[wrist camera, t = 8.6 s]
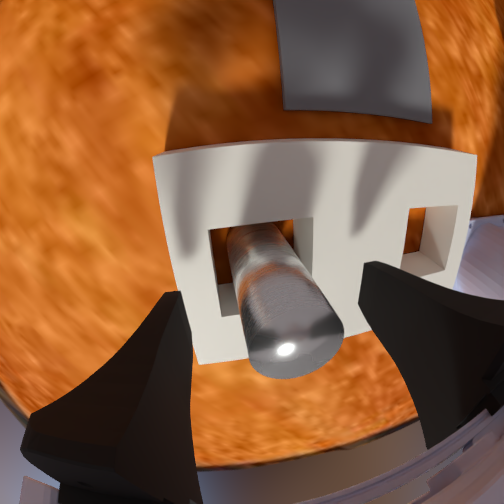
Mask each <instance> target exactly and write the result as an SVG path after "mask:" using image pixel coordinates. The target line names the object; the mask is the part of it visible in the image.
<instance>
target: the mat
mask: <svg viewBox="0 0 504 504" xmlns="http://www.w3.org/2000/svg"><path fill="white" fill-rule="evenodd" d="M273 5H274V13H275V21H276V30H277V39H278V49H279V59H280V70H281V82H282V94H283V108H284V110H312V111H336V112H350V113H362V114H371V115H380V116H388V117H395V118H401V119H407V120H413V121H419V122H424V123H430V124H432V105H431V90H430V80H429V71H428V63H427V56H426V50H425V44H424V39H423V34H422V29H421V24H420V20H419V16H418V12H417V8H416V4H415V1H414V0H273Z"/></svg>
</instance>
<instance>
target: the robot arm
mask: <svg viewBox="0 0 504 504" xmlns="http://www.w3.org/2000/svg"><path fill="white" fill-rule="evenodd" d="M358 305H359V308H360V310H361V312H362V314H363V316H364V317H365V319H366V321H367V323H368V324H369V326H370V327H371V329H372V330H373V332H374V333H375V335H376V336H377V337H378V339H379V340H380V342H381V343H382V344H383V346H384V347H385V349H386V350H387V352H388V353H389V355H390V356H391V357H392V359H393V360H394V362H395V364H396V365H397V367H398V369H399V371H400V373H401V375H402V377H403V379H404V381H405V383H406V385H407V387H408V390H409V392H410V394H411V397H412V399H413V402H414V404H415V407H416V410H417V413H418V416H419V419H420V422H421V426H422V430H423V434H424V438H425V442H426V447H427V449H428V450H427V451H425V452H424V453H422V454H421V455H419V456H417V457H415V458H413V459H412V460H410V461H408V462H406V463H404V464H402V465H400V466H398V467H396V468H394V469H392V470H390V471H388V472H386V473H384V474H381V475H379V476H377V477H374V478H372V479H370V480H367V481H365V482H362V483H360V484H357V485H355V486H352V487H349V488H347V489H344V490H341V491H338V492H335V493H332V494H329V495H325V496H322V497H319V498H315V499H312V500H307V501H303V502H300V503H295V504H365V503H367V502H369V501H372V500H374V499H376V498H379V497H381V496H383V495H385V494H387V493H389V492H391V491H393V490H395V489H397V488H399V487H401V486H403V485H405V484H407V483H409V482H410V481H412V480H414V479H416V478H418V477H419V476H421V475H423V474H424V473H426V472H428V471H429V470H431V469H433V468H434V467H436V466H437V465H439V464H440V463H442V462H443V461H445V460H446V459H448V458H449V457H451V456H452V455H453V454H455V453H456V452H457V451H459V450H460V449H461V448H463V447H464V448H463V454H461V455H460V456H459V457H458V458H456V459H455V460H454V461H453V462H451V463H450V464H449V465H447V466H446V467H445V468H443V469H442V470H441V471H439V472H438V473H436V474H435V475H434V476H432V477H430V478H429V479H428V480H427V484H428V486H429V488H430V491H428V492H427V493H425V494H423V495H422V496H420V497H418V498H417V499H415V500H413V501H411V502H409V503H408V504H504V215H496V216H487V217H479V218H470V221H469V227H468V232H467V236H466V241H465V245H464V250H463V254H462V258H461V262H460V265H459V269H458V273H457V276H456V279H455V283H454V286H453V289H449V288H446V287H443V286H441V285H438V284H435V283H433V282H430V281H428V280H425V279H423V278H420V277H418V276H415V275H413V274H411V273H408V272H406V271H403V270H401V269H399V268H396V267H394V266H391V265H388V264H386V263H383V262H379V261H371V262H366V263H364V265H363V273H362V280H361V286H360V293H359V299H358ZM192 363H193V345H192V331H191V328H190V324H189V321H188V317H187V313H186V309H185V305H184V301H183V297H182V293H181V291H173V292H165V293H164V294H163V295H162V297H161V298H160V299H159V301H158V302H157V303H156V305H155V306H154V308H153V309H152V310H151V312H150V313H149V314H148V316H147V317H146V318H145V320H144V321H143V322H142V324H141V325H140V326H139V328H138V329H137V330H136V331H135V332H134V333H133V335H132V336H131V337H130V338H129V339H128V341H127V342H126V343H125V344H124V345H123V346H122V347H121V348H120V350H119V351H118V352H117V353H116V354H115V355H114V356H113V357H112V358H111V359H110V360H109V361H108V362H106V363H105V364H104V365H103V366H102V367H101V368H100V369H98V370H97V371H96V372H95V373H94V374H92V375H91V376H90V377H89V378H88V379H86V380H85V381H84V382H83V383H81V384H80V385H79V386H77V387H76V388H74V389H73V390H72V391H70V392H69V393H67V394H66V395H64V396H63V397H61V398H59V399H58V400H56V401H54V402H52V403H51V404H49V405H47V406H45V407H43V408H41V409H40V410H38V411H36V412H34V413H32V414H31V415H30V418H29V421H28V424H27V427H26V430H25V434H24V437H23V440H22V444H21V447H20V450H21V453H22V454H23V456H24V457H25V458H26V459H27V460H28V461H29V462H30V463H31V464H33V465H34V466H36V467H37V468H38V469H40V470H41V471H43V472H44V473H46V474H47V475H49V476H50V477H52V478H54V479H55V480H57V481H59V482H60V488H59V490H58V489H56V488H54V487H52V486H49V485H47V484H44V483H42V482H39V481H37V480H34V479H32V478H29V477H27V476H24V478H23V483H22V489H21V496H20V503H19V504H203V501H202V496H201V492H200V486H199V481H198V475H197V469H196V463H195V456H194V448H193V440H192V430H191V418H190V397H191V379H192Z"/></svg>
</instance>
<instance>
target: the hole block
mask: <svg viewBox="0 0 504 504" xmlns="http://www.w3.org/2000/svg"><path fill="white" fill-rule="evenodd" d="M153 164H154V171H155V178H156V184H157V191H158V197H159V202H160V208H161V214H162V219H163V224H164V229H165V235H166V239H167V244H168V249H169V254H170V258H171V263H172V267H173V271H174V276H175V280H176V284H177V288H178V291H181V293H182V297H183V301H184V305H185V309H186V313H187V317H188V321H189V324H190V328H191V331H192V343H193V347H194V350H195V353H196V356H197V360H198V363H199V365H201V364H209V363H217V362H225V361H232V360H239V359H246V358H249V356H248V351H247V346H246V342H245V337H244V332H243V327H242V323H241V318H240V313H239V308H238V303H237V298H236V293H235V288H234V283H228V284H221V285H218V281H217V275H216V269H215V262H214V255H213V249H212V242H211V235H210V229H217V228H225V227H232V226H240V225H248V224H256V223H265V222H273V221H282V220H290V219H293V234H294V252H295V253H296V255H297V256H298V258H299V259H300V261H301V262H302V263H303V265H304V266H305V268H306V269H307V271H308V272H309V274H310V275H311V276H312V278H313V279H314V281H315V282H316V284H317V285H318V287H319V288H320V290H321V291H322V293H323V294H324V296H325V297H326V298H327V300H328V301H329V303H330V304H331V306H332V307H333V309H334V310H335V312H336V313H337V315H338V316H339V318H340V320H341V321H342V323H343V326H344V338H345V337H349V336H353V335H356V334H360V333H363V332H367V331H370V330H372V329H371V327H370V326H369V324H368V323H367V321H366V319H365V317H364V316H363V314H362V312H361V310H360V308H359V305H358V299H359V293H360V286H361V280H362V273H363V265H364V263H366V262H371V261H379V262H383V263H386V264H388V265H391V266H394V267H396V268H399V269H401V270H403V271H406V272H408V273H411V274H413V275H415V276H418V277H420V278H423V279H425V280H428V281H430V282H433V283H435V284H438V285H441V286H443V287H446V288H449V289H453V286H454V283H455V279H456V276H457V273H458V269H459V265H460V262H461V258H462V254H463V250H464V245H465V241H466V236H467V232H468V227H469V221H470V216H471V210H472V203H473V196H474V187H475V178H476V165H477V155H474V154H470V153H466V152H462V151H458V150H454V149H449V148H444V147H438V146H431V145H423V144H415V143H406V142H396V141H383V140H368V139H343V138H298V139H273V140H256V141H244V142H233V143H223V144H214V145H206V146H198V147H191V148H184V149H178V150H171V151H166V152H162V153H160V154H158V155H156V156H154V157H153ZM419 207H426V213H425V220H424V227H423V233H422V239H421V244H420V250H419V251H418V252H413V253H408V254H403V249H404V243H405V237H406V230H407V223H408V214H409V208H419Z"/></svg>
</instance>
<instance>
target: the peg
mask: <svg viewBox="0 0 504 504" xmlns="http://www.w3.org/2000/svg"><path fill="white" fill-rule="evenodd" d="M226 246H227V252H228V257H229V262H230V267H231V273H232V278H233V283H234V288H235V293H236V298H237V303H238V308H239V313H240V318H241V323H242V327H243V332H244V337H245V342H246V346H247V351H248V356H249V360H250V363H251V365H252V366H253V368H254V369H255V370H256V371H257V372H259V373H260V374H262V375H264V376H267V377H270V378H276V379H290V378H296V377H300V376H303V375H306V374H309V373H311V372H313V371H315V370H317V369H319V368H320V367H322V366H323V365H324V364H326V363H327V362H328V361H329V360H330V359H331V358H332V357H333V356H334V355H335V354H336V353H337V351H338V350H339V348H340V346H341V344H342V342H343V338H344V326H343V323H342V321H341V320H340V318H339V316H338V315H337V313H336V312H335V310H334V309H333V307H332V306H331V304H330V303H329V301H328V300H327V298H326V297H325V296H324V294H323V293H322V291H321V290H320V288H319V287H318V285H317V284H316V282H315V281H314V279H313V278H312V276H311V275H310V274H309V272H308V271H307V269H306V268H305V266H304V265H303V263H302V262H301V261H300V259H299V258H298V256H297V255H296V253H295V252H294V251H293V249H292V248H291V246H290V245H289V243H288V242H287V241H286V239H285V238H284V236H283V235H282V234H281V232H280V231H279V229H278V228H277V227H276V225H275V224H274V223H273V222H265V223H256V224H248V225H240V226H233V227H232V228H231V230H230V232H229V234H228V236H227V241H226Z"/></svg>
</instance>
